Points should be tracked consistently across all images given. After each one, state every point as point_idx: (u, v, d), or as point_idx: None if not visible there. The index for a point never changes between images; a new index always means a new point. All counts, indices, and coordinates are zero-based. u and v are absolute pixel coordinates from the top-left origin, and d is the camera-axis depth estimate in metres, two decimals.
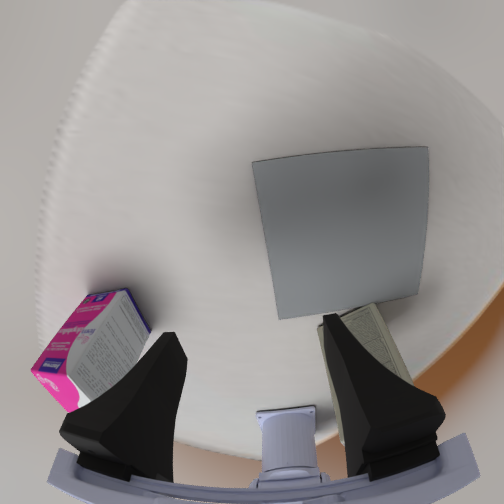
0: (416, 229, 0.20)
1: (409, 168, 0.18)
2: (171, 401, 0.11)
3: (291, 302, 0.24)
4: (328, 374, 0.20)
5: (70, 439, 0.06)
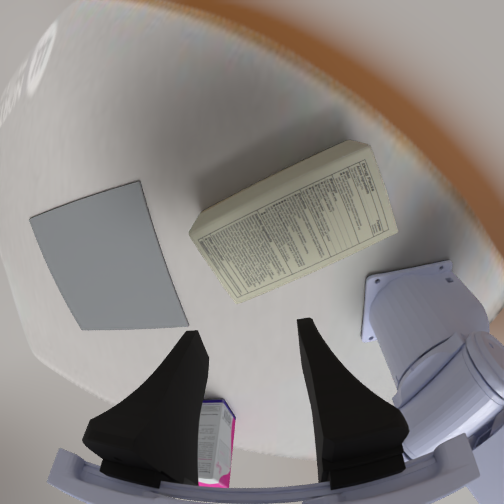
0: (76, 214, 0.20)
1: (44, 233, 0.21)
2: (195, 402, 0.11)
3: (167, 317, 0.25)
4: (312, 271, 0.17)
5: (95, 447, 0.06)
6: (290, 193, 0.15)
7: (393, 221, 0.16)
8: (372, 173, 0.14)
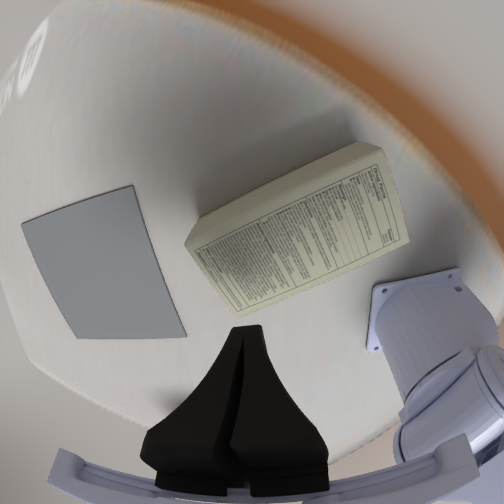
0: (68, 220, 0.19)
1: (36, 240, 0.20)
2: None
3: (164, 327, 0.23)
4: (318, 283, 0.16)
5: (156, 461, 0.06)
6: (295, 200, 0.14)
7: (405, 230, 0.14)
8: (384, 179, 0.13)
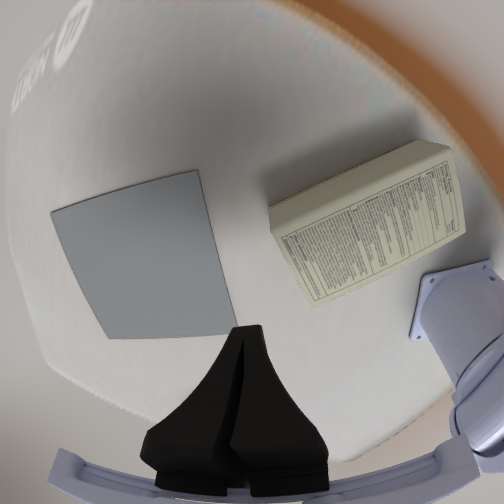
0: (112, 207, 0.18)
1: (69, 230, 0.19)
2: None
3: (215, 323, 0.23)
4: (392, 271, 0.16)
5: (156, 461, 0.06)
6: (382, 190, 0.13)
7: (463, 221, 0.14)
8: (451, 174, 0.13)
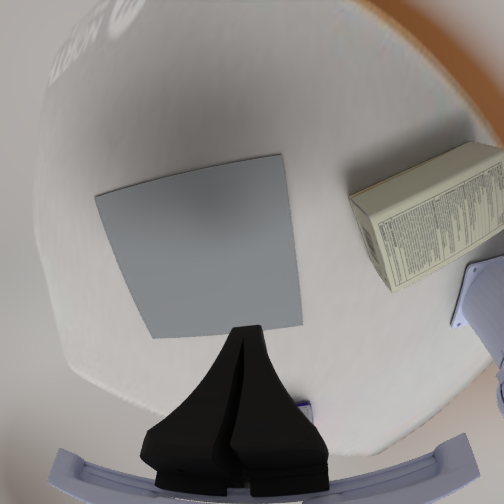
0: (179, 190, 0.18)
1: (119, 217, 0.19)
2: None
3: (280, 316, 0.22)
4: (458, 257, 0.15)
5: (156, 461, 0.06)
6: (458, 184, 0.13)
7: None
8: None
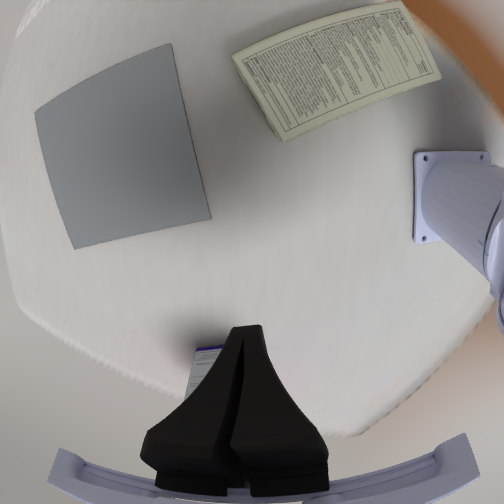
0: (91, 89, 0.16)
1: (49, 123, 0.17)
2: None
3: (184, 207, 0.20)
4: (369, 102, 0.13)
5: (156, 461, 0.06)
6: (337, 21, 0.11)
7: (435, 66, 0.11)
8: (407, 19, 0.10)
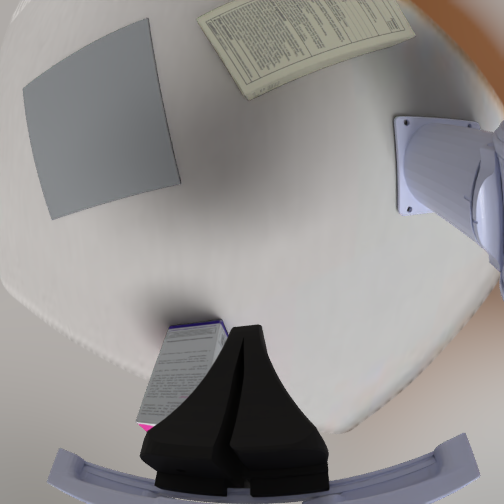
0: (74, 63, 0.15)
1: (35, 98, 0.16)
2: None
3: (154, 172, 0.19)
4: (334, 55, 0.12)
5: (156, 461, 0.06)
6: None
7: (407, 23, 0.10)
8: None
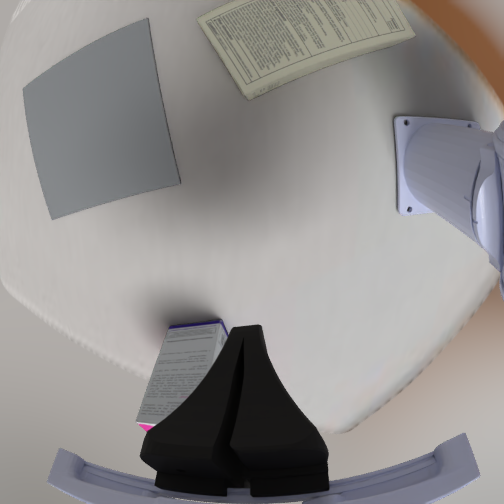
0: (74, 63, 0.15)
1: (35, 98, 0.16)
2: None
3: (154, 172, 0.19)
4: (334, 55, 0.12)
5: (156, 461, 0.06)
6: None
7: (407, 23, 0.10)
8: None
